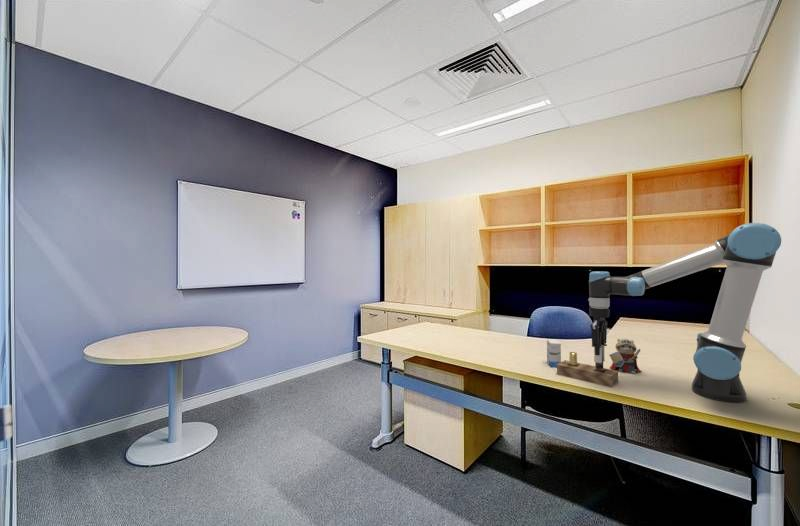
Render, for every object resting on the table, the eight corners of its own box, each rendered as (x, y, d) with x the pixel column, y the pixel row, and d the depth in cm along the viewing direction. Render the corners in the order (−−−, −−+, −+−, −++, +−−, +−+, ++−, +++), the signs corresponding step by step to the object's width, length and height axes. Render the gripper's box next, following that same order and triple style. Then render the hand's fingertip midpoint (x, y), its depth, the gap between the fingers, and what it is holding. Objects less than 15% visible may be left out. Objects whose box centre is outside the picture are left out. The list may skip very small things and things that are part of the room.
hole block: (618, 381, 143) (618, 371, 142) (611, 387, 137) (611, 376, 137) (565, 369, 159) (565, 360, 159) (557, 374, 153) (556, 364, 153)
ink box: (561, 367, 162) (561, 343, 162) (550, 367, 163) (550, 343, 163) (557, 362, 170) (556, 339, 170) (546, 361, 171) (546, 339, 171)
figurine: (606, 371, 156) (606, 339, 156) (611, 365, 164) (611, 334, 164) (640, 377, 147) (640, 343, 147) (644, 370, 155) (643, 338, 155)
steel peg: (604, 367, 144) (604, 344, 144) (601, 369, 142) (602, 346, 142) (596, 366, 146) (596, 343, 146) (594, 367, 144) (594, 344, 144)
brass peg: (578, 374, 152) (578, 352, 152) (575, 376, 150) (575, 354, 150) (571, 373, 154) (571, 351, 154) (568, 374, 152) (568, 352, 152)
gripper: (596, 304, 151) (596, 355, 152) (582, 308, 141) (583, 363, 142) (615, 306, 146) (615, 359, 146) (602, 310, 135) (602, 367, 136)
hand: (599, 361), depth 144 cm, fingers closed on steel peg, 2 cm apart
